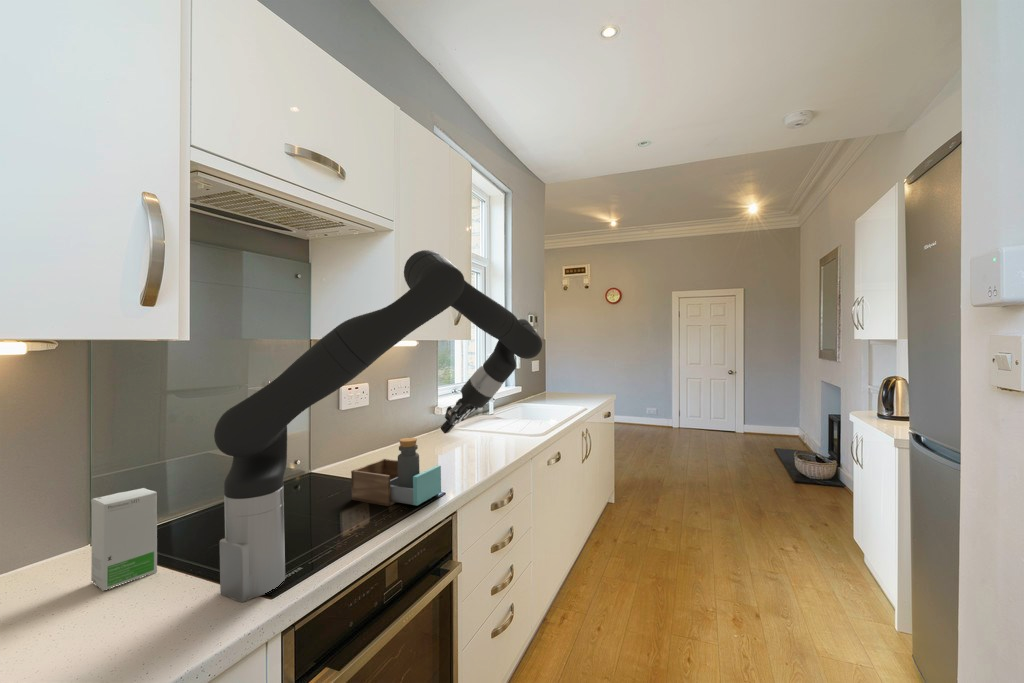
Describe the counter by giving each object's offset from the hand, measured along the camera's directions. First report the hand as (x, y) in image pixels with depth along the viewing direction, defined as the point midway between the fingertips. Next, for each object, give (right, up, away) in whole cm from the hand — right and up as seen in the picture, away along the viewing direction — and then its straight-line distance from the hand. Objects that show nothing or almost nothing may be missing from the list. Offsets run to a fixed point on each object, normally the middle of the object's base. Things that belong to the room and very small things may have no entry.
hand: (444, 430), depth 117 cm
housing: (-18, -20, +8) cm, 28 cm away
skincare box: (-55, -21, -34) cm, 68 cm away
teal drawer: (-10, -19, +4) cm, 22 cm away
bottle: (-10, -18, +4) cm, 22 cm away
